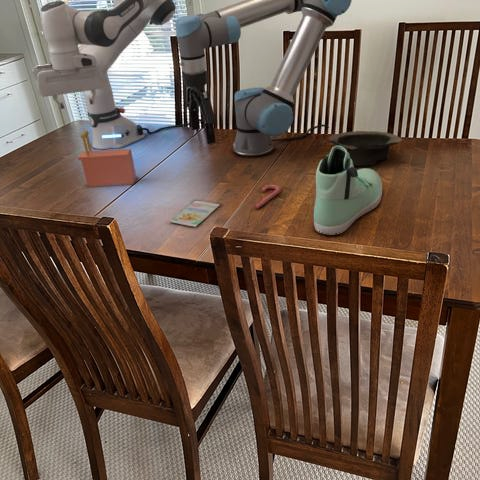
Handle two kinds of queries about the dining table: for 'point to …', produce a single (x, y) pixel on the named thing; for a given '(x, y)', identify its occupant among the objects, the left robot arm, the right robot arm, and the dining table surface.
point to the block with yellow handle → (102, 153)
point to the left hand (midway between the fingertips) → (77, 106)
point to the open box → (109, 171)
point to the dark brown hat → (366, 145)
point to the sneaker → (343, 192)
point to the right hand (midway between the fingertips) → (203, 136)
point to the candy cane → (262, 202)
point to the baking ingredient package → (194, 213)
